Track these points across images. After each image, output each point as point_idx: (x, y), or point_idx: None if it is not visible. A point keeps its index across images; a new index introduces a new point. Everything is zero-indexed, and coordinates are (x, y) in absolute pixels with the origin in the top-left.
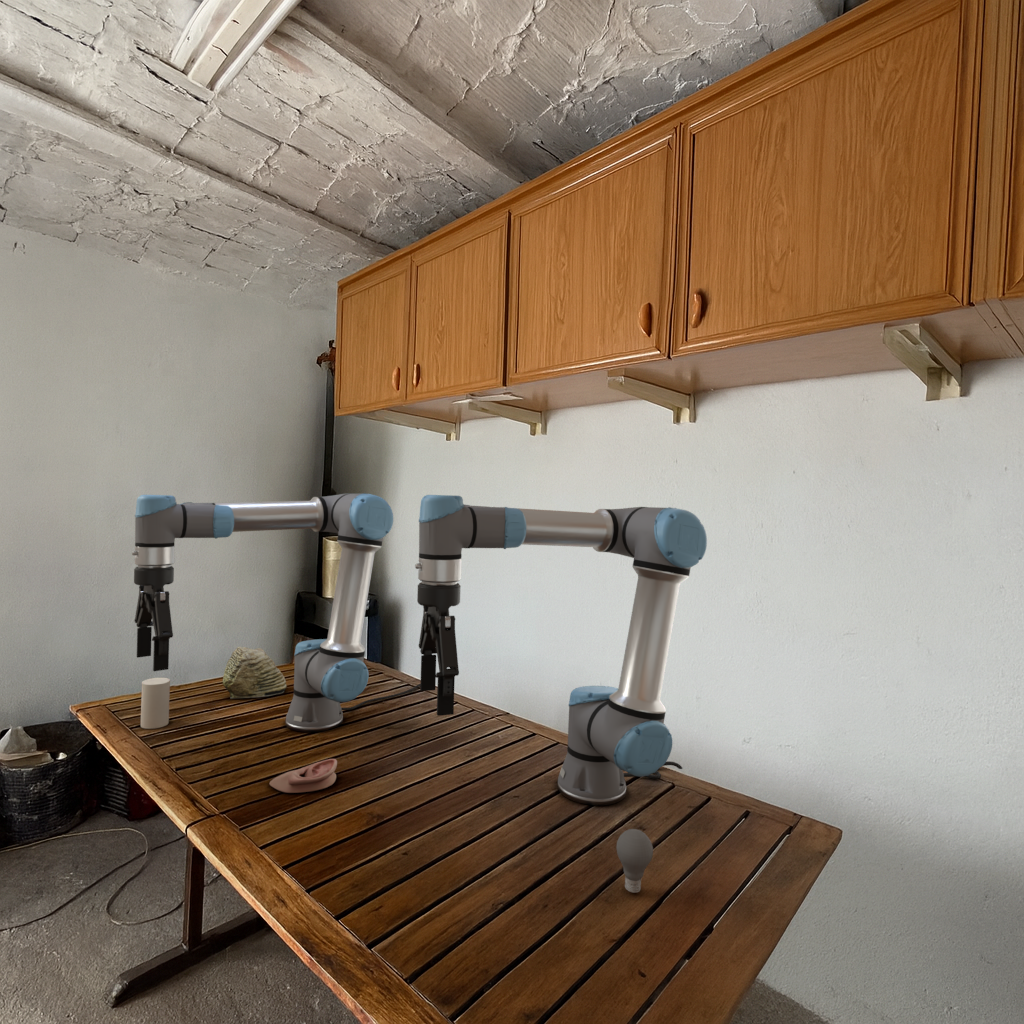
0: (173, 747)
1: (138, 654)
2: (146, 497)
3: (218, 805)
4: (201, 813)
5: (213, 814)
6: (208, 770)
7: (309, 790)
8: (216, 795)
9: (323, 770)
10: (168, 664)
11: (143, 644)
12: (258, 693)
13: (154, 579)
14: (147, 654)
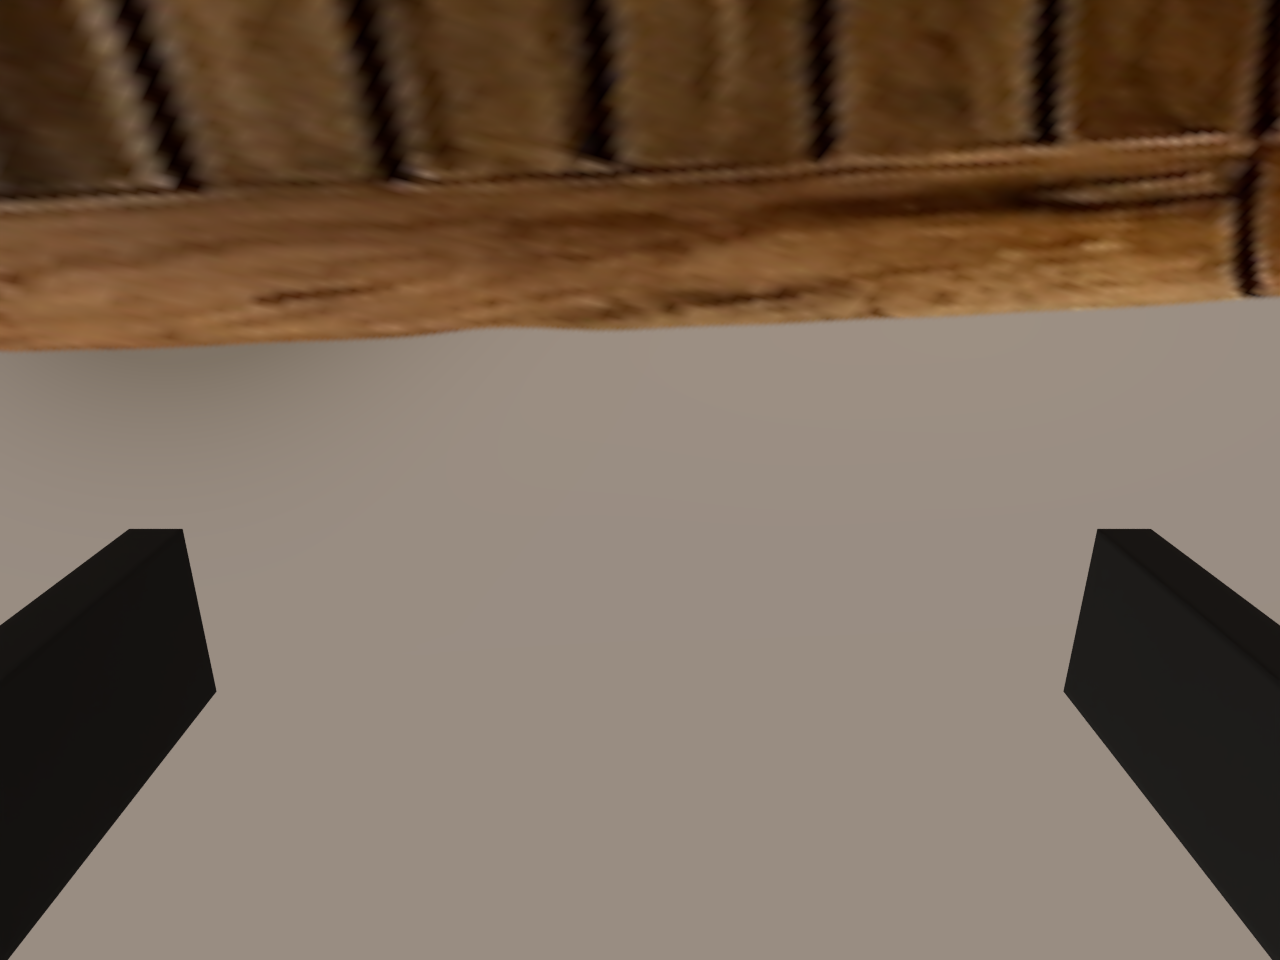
0: (243, 73)
1: (194, 708)
2: None
3: (1176, 115)
4: (1188, 212)
5: (1243, 168)
6: (722, 5)
7: None
8: (1064, 83)
9: None
10: (1190, 560)
11: (92, 751)
12: None
13: None
14: (175, 587)
